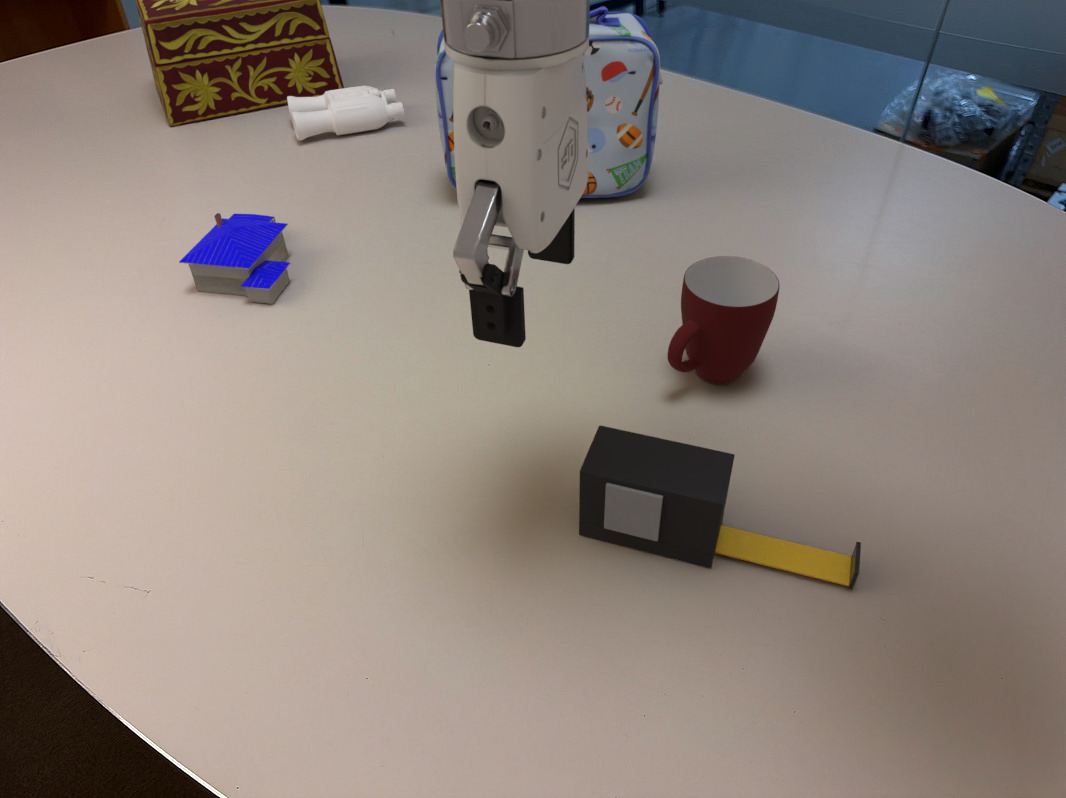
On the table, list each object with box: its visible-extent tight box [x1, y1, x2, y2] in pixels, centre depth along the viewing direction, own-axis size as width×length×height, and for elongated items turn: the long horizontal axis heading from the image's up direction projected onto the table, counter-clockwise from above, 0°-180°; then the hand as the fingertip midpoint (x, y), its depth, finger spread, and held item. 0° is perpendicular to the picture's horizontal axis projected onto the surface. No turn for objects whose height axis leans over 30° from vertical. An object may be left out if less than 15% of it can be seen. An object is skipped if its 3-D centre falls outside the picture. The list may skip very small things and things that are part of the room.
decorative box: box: [134, 0, 345, 127], centre depth 129 cm, size 28×19×15 cm
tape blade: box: [714, 524, 862, 591], centre depth 58 cm, size 10×3×2 cm, turn 70°
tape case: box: [578, 425, 736, 569], centre depth 59 cm, size 10×6×7 cm, turn 70°
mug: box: [667, 255, 781, 386], centre depth 71 cm, size 10×8×10 cm
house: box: [178, 212, 291, 305], centre depth 90 cm, size 11×14×6 cm
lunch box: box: [434, 5, 664, 199], centre depth 97 cm, size 28×10×22 cm, turn 92°
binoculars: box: [287, 85, 405, 142], centre depth 120 cm, size 10×16×5 cm, turn 109°
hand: (527, 297), depth 52 cm, fingers open, 9 cm apart
